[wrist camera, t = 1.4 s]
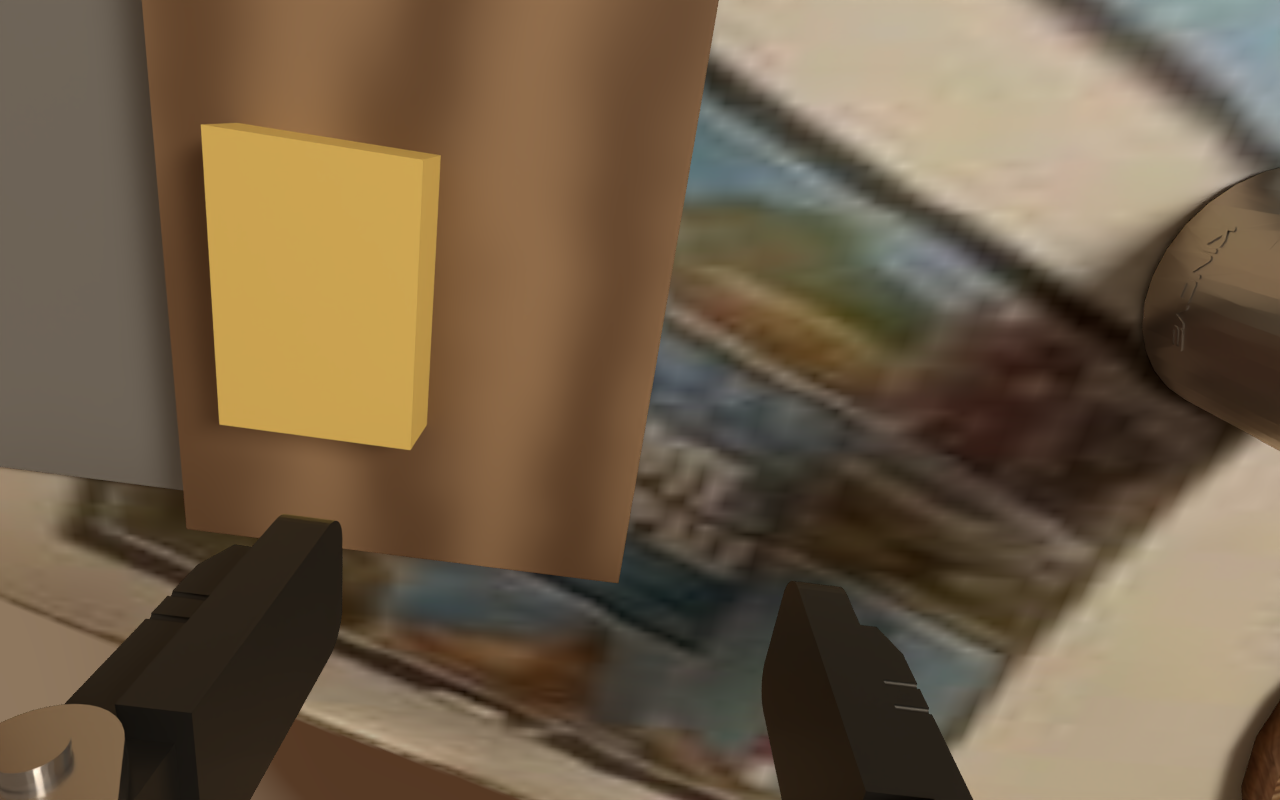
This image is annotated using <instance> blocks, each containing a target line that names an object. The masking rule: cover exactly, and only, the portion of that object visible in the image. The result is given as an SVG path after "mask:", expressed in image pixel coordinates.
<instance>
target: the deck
mask: <svg viewBox="0 0 1280 800" xmlns="http://www.w3.org/2000/svg"><path fill="white" fill-rule="evenodd" d="M718 1H719V0H142V9H143V21H144V33H145V45H146V56H147V68H148V80H149V92H150V103H151V115H152V127H153V139H154V151H155V162H156V174H157V186H158V198H159V210H160V221H161V233H162V245H163V257H164V268H165V280H166V292H167V304H168V316H169V327H170V339H171V351H172V363H173V375H174V386H175V398H176V410H177V422H178V433H179V445H180V457H181V469H182V481H183V492H184V504H185V516H186V528H187V529H191V530H199V531H207V532H215V533H223V534H231V535H239V536H247V537H255V538H260V537H261V536H262V535H263V534H264V532H265V531H266V530H267V529H268V528H269V527H270V526H271V524H272V523H273V522H274V521H275V520H276V519H277V518H278V517H279V516H280V515H283V514H288V515H296V516H304V517H311V518H319V519H327V520H335V521H338V522H339V523H340V525H341V528H342V537H343V541H342V549H350V550H358V551H366V552H374V553H382V554H390V555H398V556H406V557H414V558H422V559H430V560H438V561H446V562H454V563H462V564H470V565H478V566H486V567H493V568H501V569H509V570H517V571H525V572H533V573H541V574H549V575H557V576H565V577H573V578H581V579H589V580H597V581H605V582H613V583H618V582H619V576H620V571H621V565H622V559H623V553H624V547H625V542H626V536H627V530H628V524H629V518H630V513H631V507H632V501H633V495H634V489H635V483H636V478H637V472H638V466H639V460H640V454H641V449H642V443H643V437H644V431H645V425H646V420H647V414H648V408H649V402H650V396H651V391H652V385H653V379H654V373H655V367H656V362H657V356H658V350H659V344H660V338H661V332H662V327H663V321H664V315H665V309H666V303H667V298H668V292H669V286H670V280H671V274H672V269H673V263H674V257H675V251H676V245H677V240H678V234H679V228H680V222H681V216H682V210H683V205H684V199H685V193H686V187H687V181H688V176H689V170H690V164H691V158H692V152H693V147H694V141H695V135H696V129H697V123H698V118H699V112H700V106H701V100H702V94H703V89H704V83H705V77H706V71H707V65H708V59H709V54H710V48H711V42H712V36H713V30H714V25H715V19H716V13H717V7H718ZM223 123H242V124H248V125H254V126H260V127H267V128H273V129H279V130H285V131H292V132H298V133H304V134H310V135H317V136H323V137H329V138H336V139H342V140H348V141H354V142H361V143H367V144H373V145H379V146H386V147H392V148H398V149H404V150H411V151H417V152H423V153H429V154H436V155H441V160H440V180H439V199H438V218H437V237H436V257H435V276H434V295H433V314H432V334H431V353H430V372H429V391H428V411H427V426H426V427H425V429H424V430H423V432H422V433H421V435H420V436H419V438H418V439H417V441H416V442H415V444H414V445H413V447H412V449H411V450H405V449H398V448H390V447H383V446H375V445H368V444H360V443H353V442H346V441H338V440H331V439H323V438H316V437H309V436H301V435H294V434H286V433H279V432H271V431H264V430H257V429H249V428H242V427H234V426H227V425H219V411H218V394H217V378H216V362H215V346H214V330H213V314H212V298H211V281H210V265H209V249H208V233H207V217H206V201H205V185H204V168H203V152H202V136H201V124H223Z"/></svg>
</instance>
